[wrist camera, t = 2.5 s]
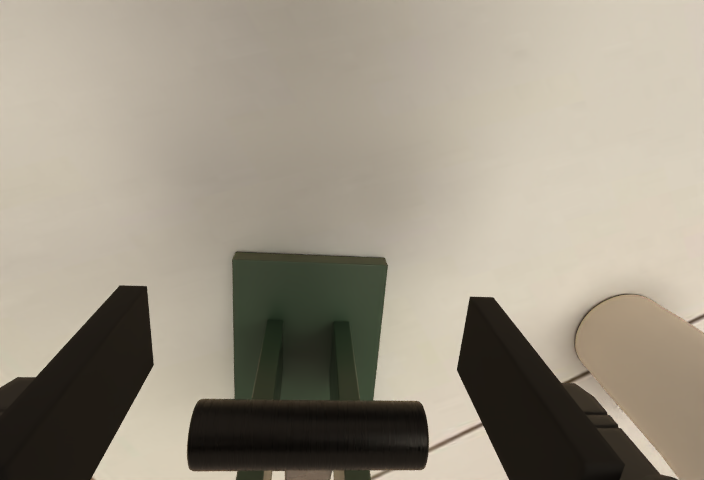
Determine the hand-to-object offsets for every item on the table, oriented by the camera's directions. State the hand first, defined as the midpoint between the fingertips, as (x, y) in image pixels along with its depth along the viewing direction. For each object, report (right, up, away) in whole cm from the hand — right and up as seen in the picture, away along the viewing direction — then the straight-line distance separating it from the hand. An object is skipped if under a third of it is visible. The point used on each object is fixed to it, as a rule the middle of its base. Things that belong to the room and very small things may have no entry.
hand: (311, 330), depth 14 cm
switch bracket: (-2, -4, +16) cm, 16 cm away
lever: (0, -4, +1) cm, 4 cm away
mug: (+20, -5, +18) cm, 27 cm away
